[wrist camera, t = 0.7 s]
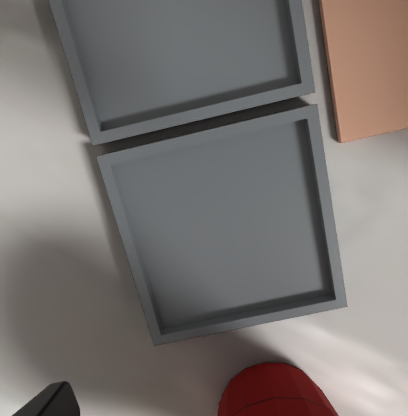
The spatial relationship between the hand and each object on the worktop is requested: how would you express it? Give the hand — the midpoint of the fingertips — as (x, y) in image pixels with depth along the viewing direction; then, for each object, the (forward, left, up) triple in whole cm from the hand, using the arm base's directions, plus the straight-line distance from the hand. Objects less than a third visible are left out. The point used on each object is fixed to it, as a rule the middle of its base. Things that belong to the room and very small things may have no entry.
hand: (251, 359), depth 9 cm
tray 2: (0, 0, -10) cm, 10 cm away
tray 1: (0, -11, -10) cm, 14 cm away
